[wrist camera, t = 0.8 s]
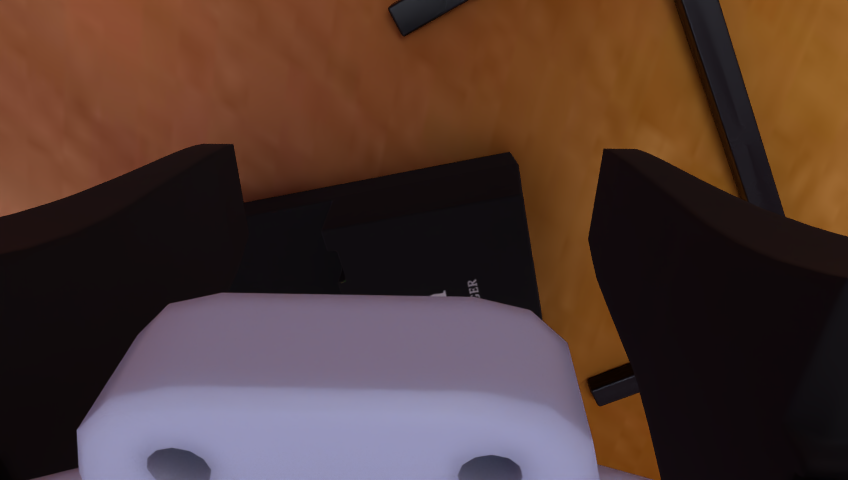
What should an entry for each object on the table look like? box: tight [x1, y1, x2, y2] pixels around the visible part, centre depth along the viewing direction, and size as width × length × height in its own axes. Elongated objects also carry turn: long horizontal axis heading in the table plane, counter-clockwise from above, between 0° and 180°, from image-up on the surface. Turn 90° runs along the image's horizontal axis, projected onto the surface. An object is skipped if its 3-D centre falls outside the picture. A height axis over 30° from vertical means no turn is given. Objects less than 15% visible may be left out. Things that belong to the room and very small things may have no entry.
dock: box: [388, 0, 785, 406], centre depth 22 cm, size 9×18×1 cm, turn 28°
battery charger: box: [228, 152, 543, 321], centre depth 23 cm, size 13×10×4 cm
